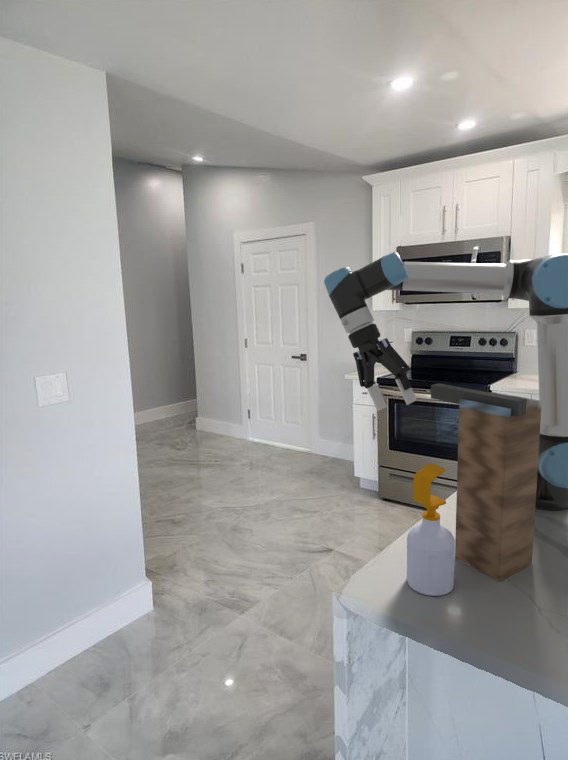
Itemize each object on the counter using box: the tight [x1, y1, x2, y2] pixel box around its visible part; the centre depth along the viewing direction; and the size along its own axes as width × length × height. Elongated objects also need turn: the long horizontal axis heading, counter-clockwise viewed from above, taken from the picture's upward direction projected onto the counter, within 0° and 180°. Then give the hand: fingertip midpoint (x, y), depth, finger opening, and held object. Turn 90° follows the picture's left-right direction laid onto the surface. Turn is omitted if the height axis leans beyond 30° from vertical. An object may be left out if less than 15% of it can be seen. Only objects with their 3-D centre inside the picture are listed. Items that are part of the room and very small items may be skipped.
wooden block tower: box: [454, 391, 542, 582], centre depth 105 cm, size 11×11×36 cm
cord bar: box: [430, 383, 527, 417], centre depth 104 cm, size 21×3×3 cm, turn 33°
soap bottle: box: [406, 463, 455, 597], centre depth 99 cm, size 9×9×25 cm
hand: (396, 405), depth 125 cm, fingers open, 13 cm apart
